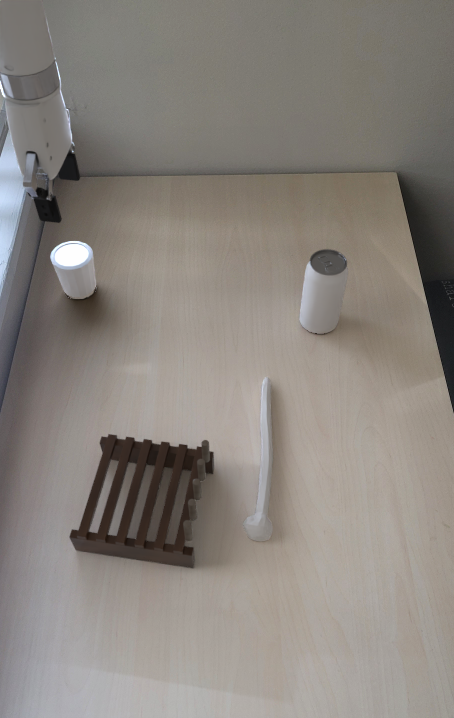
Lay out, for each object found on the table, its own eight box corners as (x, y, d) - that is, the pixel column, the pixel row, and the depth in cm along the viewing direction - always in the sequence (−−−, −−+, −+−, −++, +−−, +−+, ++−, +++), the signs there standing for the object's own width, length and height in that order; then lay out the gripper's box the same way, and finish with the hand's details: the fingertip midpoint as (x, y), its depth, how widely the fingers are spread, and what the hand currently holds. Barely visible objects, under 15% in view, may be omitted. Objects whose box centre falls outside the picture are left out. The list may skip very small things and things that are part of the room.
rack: (75, 550, 85) (60, 519, 78) (106, 452, 93) (95, 415, 85) (193, 568, 84) (189, 539, 76) (214, 467, 92) (213, 431, 84)
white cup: (98, 272, 111) (91, 238, 105) (101, 300, 108) (94, 266, 102) (59, 277, 111) (49, 242, 105) (60, 305, 107) (50, 271, 101)
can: (310, 340, 104) (319, 281, 93) (292, 313, 106) (299, 254, 96) (345, 328, 105) (358, 269, 94) (326, 302, 108) (336, 242, 97)
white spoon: (246, 380, 99) (247, 367, 97) (273, 380, 99) (274, 368, 97) (242, 542, 86) (242, 532, 83) (272, 543, 86) (273, 533, 83)
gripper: (21, 38, 84) (53, 161, 99) (-25, 113, 76) (18, 235, 91) (76, 42, 84) (100, 166, 99) (36, 118, 76) (68, 240, 91)
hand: (60, 199), depth 95 cm, fingers open, 9 cm apart
